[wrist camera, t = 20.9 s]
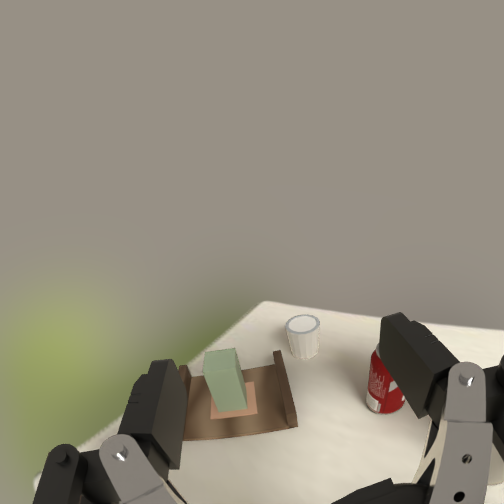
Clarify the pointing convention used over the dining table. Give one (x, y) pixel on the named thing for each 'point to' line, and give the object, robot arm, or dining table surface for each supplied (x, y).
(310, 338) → the white cup
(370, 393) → the soda can
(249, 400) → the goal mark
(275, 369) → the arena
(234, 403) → the sage block
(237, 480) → the dining table surface
